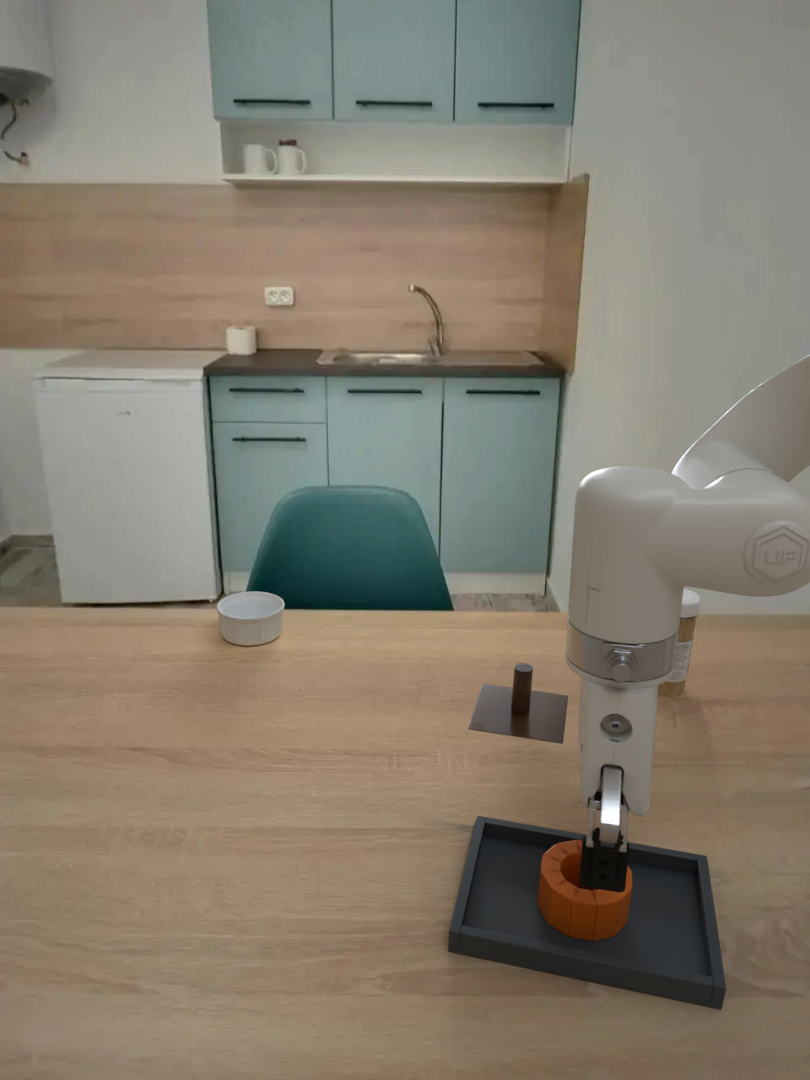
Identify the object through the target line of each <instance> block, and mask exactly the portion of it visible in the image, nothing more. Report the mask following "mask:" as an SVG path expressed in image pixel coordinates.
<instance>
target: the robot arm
mask: <svg viewBox="0 0 810 1080" xmlns="http://www.w3.org/2000/svg"><path fill="white" fill-rule="evenodd" d="M809 466H810V353H809V354H808V355H806V356H804V357H802V358H800V359H799V360H797V361H796V362H794V363H792V364H790V365H789V366H787V367H785V368H783V369H782V370H780V371H778V372H776V373H775V374H774V375H772V376H770V377H769V378H767V379H766V380H764V381H762V382H761V383H760V384H759V385H757V386H756V387H755V388H753V389H752V390H750V391H749V392H748V393H747V394H745V395H744V396H743V397H742V398H741V399H739V400H738V401H737V402H736V403H735V404H734V405H732V407H731V408H729V409H728V410H727V411H726V412H725V413H724V414H723V415H722V416H721V417H719V418H718V420H717V421H715V423H714V424H712V426H710V427H709V428H708V429H707V430H706V431H705V432H704V433H702V435H701V436H700V437H699V438H697V440H696V441H695V442H693V444H692V445H690V447H689V448H688V449H687V450H686V451H685V452H684V453H683V455H681V457H680V458H679V459H678V461H677V462H676V464H675V466H674V467H673V469H672V470H671V471H670V472H668V471H666V470H663V469H658V468H652V467H647V466H634V465H621V466H610V467H603V468H600V469H597V470H594V471H592V472H589V474H587V475H586V476H584V478H583V479H582V480H581V481H580V483H579V485H578V486H577V489H576V492H575V499H574V500H575V502H574V513H573V514H574V515H573V530H572V542H571V543H572V546H571V548H572V549H571V560H570V561H571V562H570V563H571V564H570V578H569V592H568V607H567V608H568V609H567V611H568V612H567V621H566V622H567V623H566V637H565V655H564V660H565V663H566V665H567V666H568V668H569V669H570V670H571V671H572V672H573V673H575V674H576V675H577V676H579V677H580V688H579V703H578V704H579V705H578V707H579V708H578V710H579V711H578V733H577V734H578V735H577V736H578V738H577V743H578V745H577V746H578V747H577V748H578V750H577V751H578V752H577V753H578V754H577V755H578V756H577V757H578V790H579V791H578V792H579V803H580V804H581V805H582V806H583V807H584V809H586V810H587V825H586V835H587V836H586V837H585V836H583V840H582V853H581V865H580V879H579V883H580V885H581V886H583V887H589V888H595V889H601V890H607V891H613V892H623V891H624V890H625V885H626V875H627V866H628V856H629V843H627V842H628V833H629V831H628V829H629V816H630V815H629V813H630V814H631V815H632V816H639V817H645V816H647V814H649V812H650V806H651V805H650V804H651V803H650V802H651V789H652V777H653V764H654V755H655V743H656V730H657V719H658V704H659V703H658V699H659V695H658V685H659V684H661V683H663V682H665V681H667V680H668V679H669V678H670V677H671V676H672V675H673V672H674V667H675V658H676V649H677V640H678V632H679V623H680V614H681V606H682V597H683V589H685V587H688V588H694V589H699V590H700V589H701V590H707V591H713V592H718V593H724V594H730V595H736V596H743V597H754V598H766V597H767V598H769V597H777V596H783V595H788V594H790V593H793V592H795V591H797V590H800V589H802V588H804V587H806V586H807V585H808V584H810V496H808V495H807V494H806V493H805V492H803V491H802V490H800V489H799V488H797V487H796V486H794V485H793V484H791V481H793V480H794V479H795V478H796V477H797V476H798V475H799V474H801V473H802V472H803V471H804V470H805V469H807V468H809ZM597 811H600V814H599V815H600V819H599V826H596V817H597V816H596V815H597Z"/></svg>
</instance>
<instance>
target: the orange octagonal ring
mask: <svg viewBox="0 0 810 1080" xmlns="http://www.w3.org/2000/svg"><path fill="white" fill-rule="evenodd" d="M581 853H582V840H577V841H576V840H572V841H567V842H562V843H557V844H555V845H554V846H553V847H551V848H550V849H549V850H548V851H547V852H546V853H545V854H544V855H543V856H542V864H541V872H540V882H539V892H538V902H537V905H538V907H539V909H540V911H541V913H542V914H543V916H544V918H545V920H546V921H547V922H548V924H550V925H551V926H553V927H554V928H556V929H557V930H559V931H560V932H562V933H563V934H565V935H566V936H568V935H569V937H574V938H579V939H584V940H589V941H592V940H593V941H597V940H601V939H605V938H609V937H613V936H615V935H616V934H617V933H618V932H619V931H620V930H621V929H622V928H623V927H624V925H625V924H626V923H627V919H628V913H629V906H630V900H631V893H632V871H631V869H630V868H629V867H628V866H627V875H626V885H625V890H624V891H623V892H613V891H607V890H601V889H595V888H589V887H583V886H581V885H580V883H579V879H580V865H581ZM576 886H577V887H576ZM578 887H583V888H588V889H591V890H593V891H591V890H586V889H580V888H578Z"/></svg>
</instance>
